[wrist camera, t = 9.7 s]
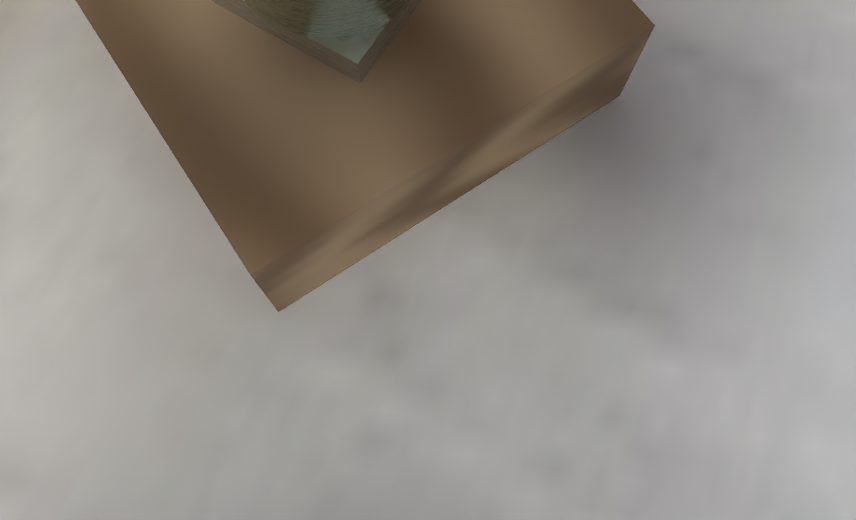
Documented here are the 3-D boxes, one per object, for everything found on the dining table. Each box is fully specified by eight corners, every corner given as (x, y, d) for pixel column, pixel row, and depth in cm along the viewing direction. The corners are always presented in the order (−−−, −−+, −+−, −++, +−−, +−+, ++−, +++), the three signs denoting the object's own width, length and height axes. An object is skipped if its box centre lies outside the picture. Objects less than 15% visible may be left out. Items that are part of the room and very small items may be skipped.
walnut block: (278, 311, 23) (250, 275, 19) (82, 4, 26) (25, -79, 22) (619, 95, 25) (654, 25, 22) (399, -158, 29) (397, -257, 25)
